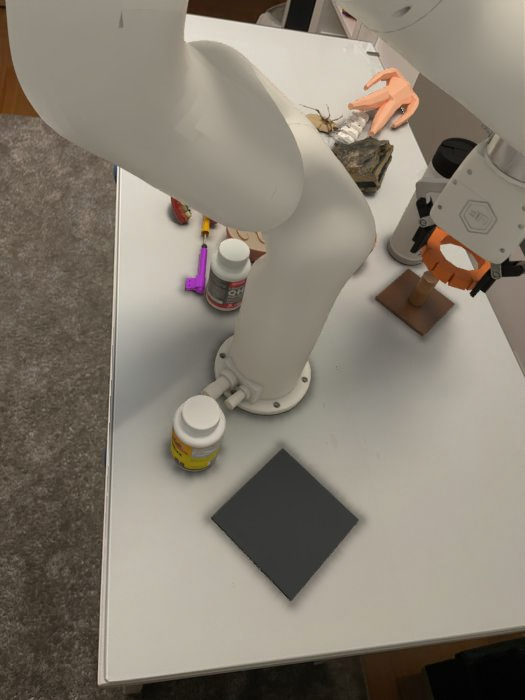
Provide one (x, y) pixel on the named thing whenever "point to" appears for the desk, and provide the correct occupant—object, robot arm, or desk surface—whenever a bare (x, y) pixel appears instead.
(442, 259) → the ring
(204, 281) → the purple and orange tool
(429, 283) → the ring post
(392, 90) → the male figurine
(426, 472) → the desk surface
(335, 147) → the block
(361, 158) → the rock
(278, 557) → the mat
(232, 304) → the pill bottle
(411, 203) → the travel mug
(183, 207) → the dental model
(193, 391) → the desk surface
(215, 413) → the supplement bottle
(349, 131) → the white ridged long piece
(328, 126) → the insect
